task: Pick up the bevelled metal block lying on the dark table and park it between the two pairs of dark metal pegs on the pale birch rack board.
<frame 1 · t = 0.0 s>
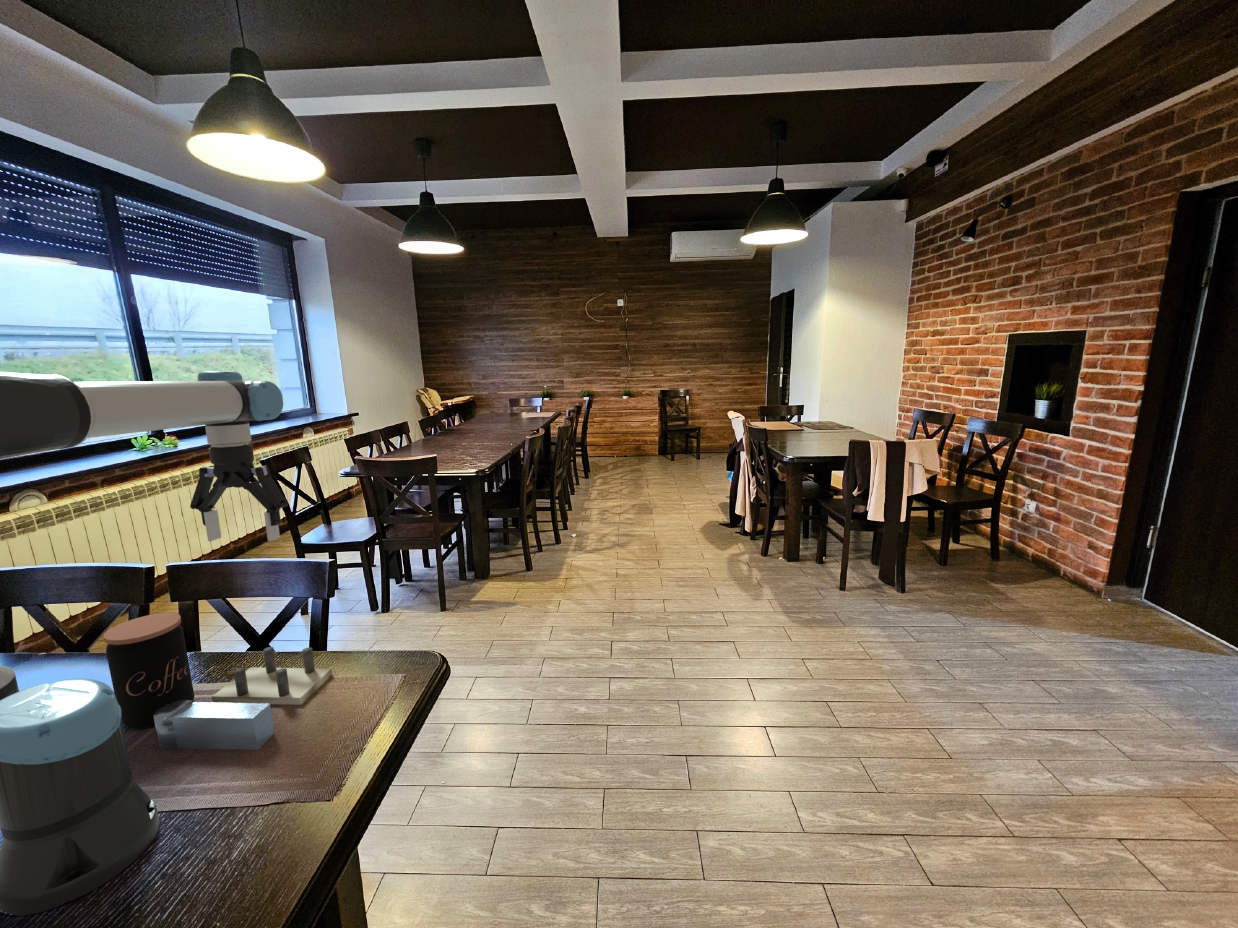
hand: (244, 539, 111), 28 cm above the table, fingers open, 13 cm apart
bevelled metal block: (225, 740, 89), on the table
peg rack: (275, 688, 104), on the table
coffee jar: (159, 713, 97), on the table
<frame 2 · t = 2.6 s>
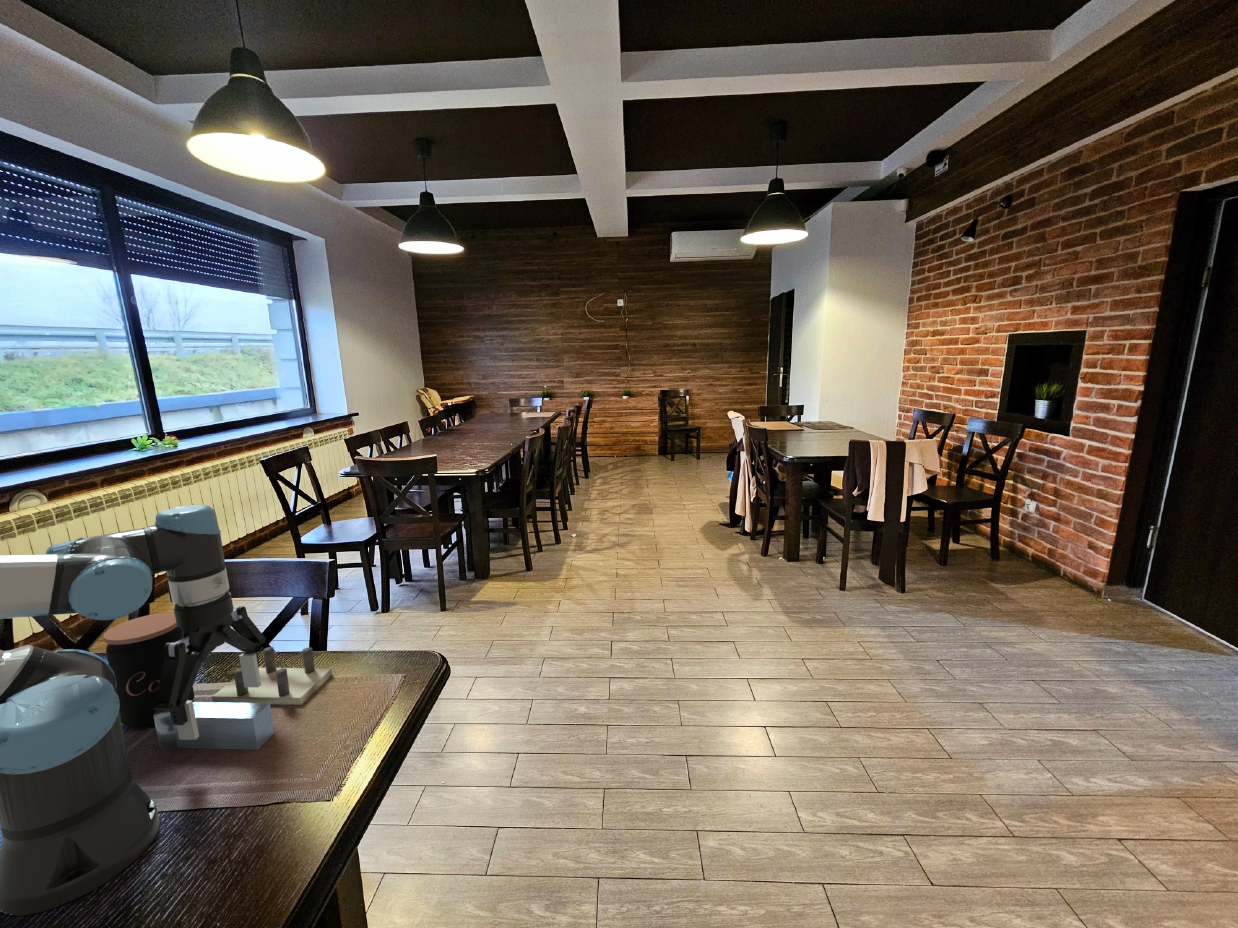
hand: (223, 710, 88), 6 cm above the table, fingers open, 13 cm apart
nothing on the table moved.
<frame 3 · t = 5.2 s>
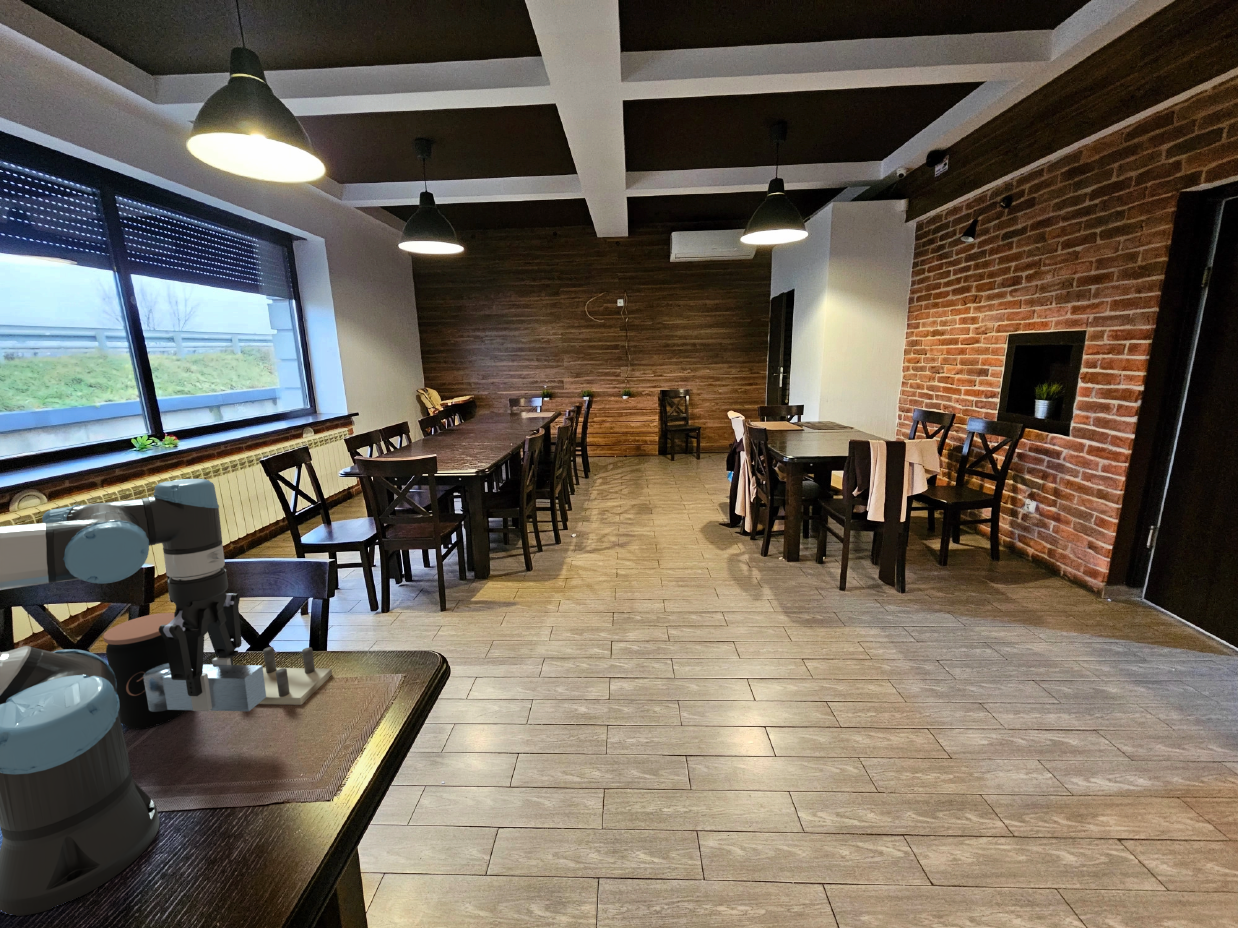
hand: (214, 700, 87), 8 cm above the table, fingers closed on bevelled metal block, 4 cm apart
bevelled metal block: (216, 702, 87), point 8 cm above the table, touching gripper
everything else where it was.
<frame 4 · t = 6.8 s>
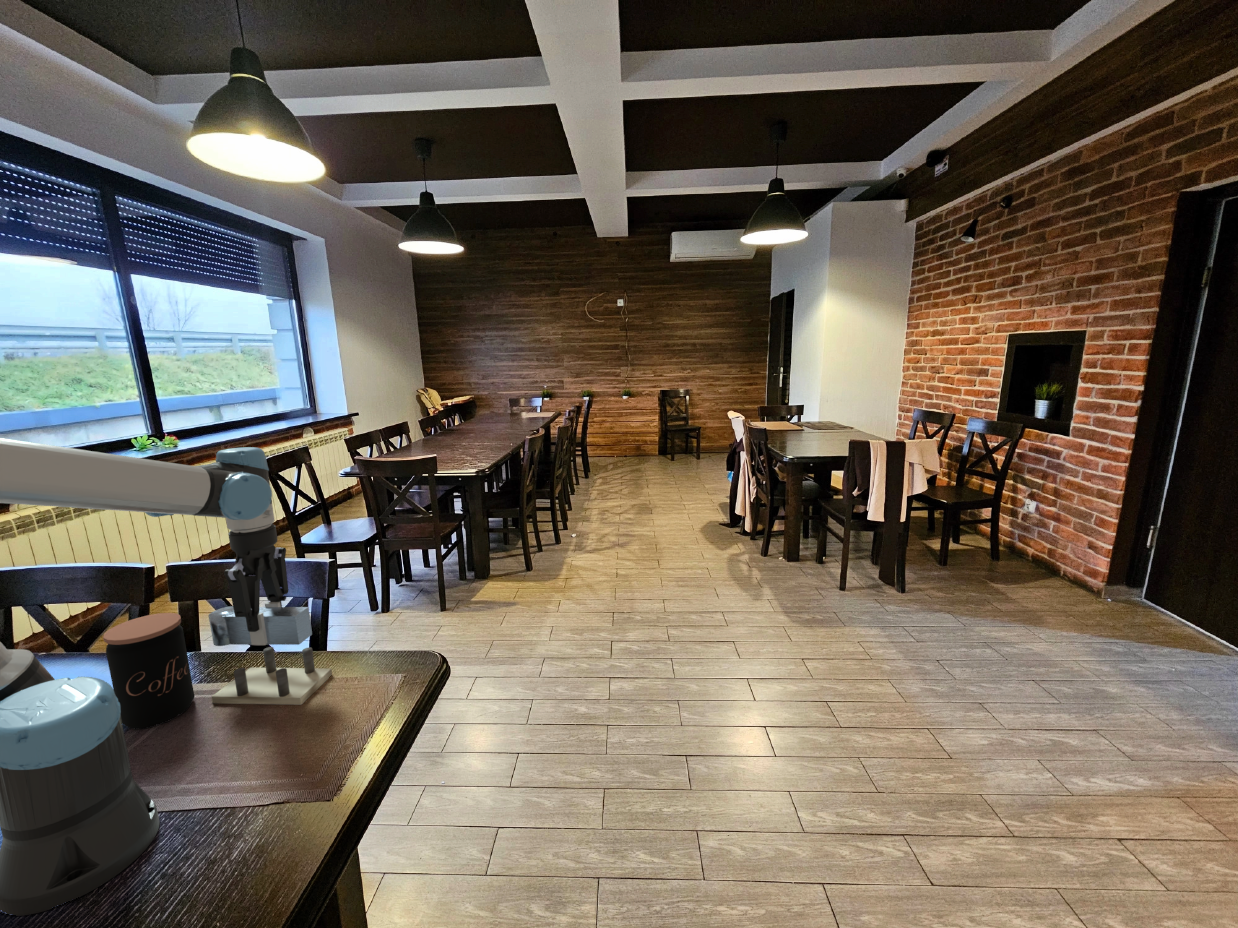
hand: (268, 637, 102), 11 cm above the table, fingers closed on bevelled metal block, 4 cm apart
bevelled metal block: (270, 639, 102), point 11 cm above the table, touching gripper
everything else where it was.
when the fingers open (2 cm above the table, at t = 8.6 s): bevelled metal block stays where it is, resting on peg rack.
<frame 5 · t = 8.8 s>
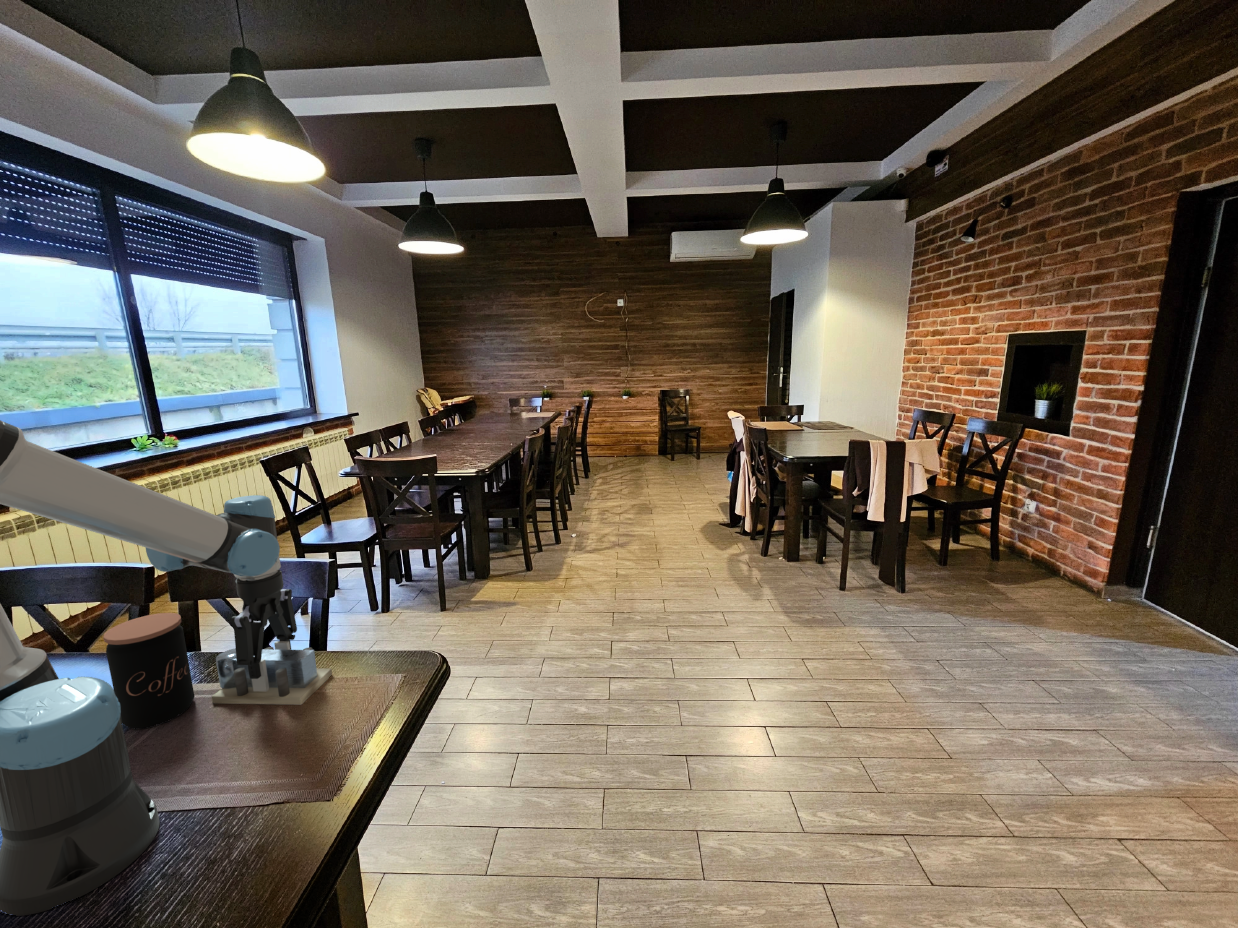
hand: (273, 679, 103), 2 cm above the table, fingers open, 6 cm apart
bevelled metal block: (275, 681, 103), point 1 cm above the table, touching peg rack
everything else where it was.
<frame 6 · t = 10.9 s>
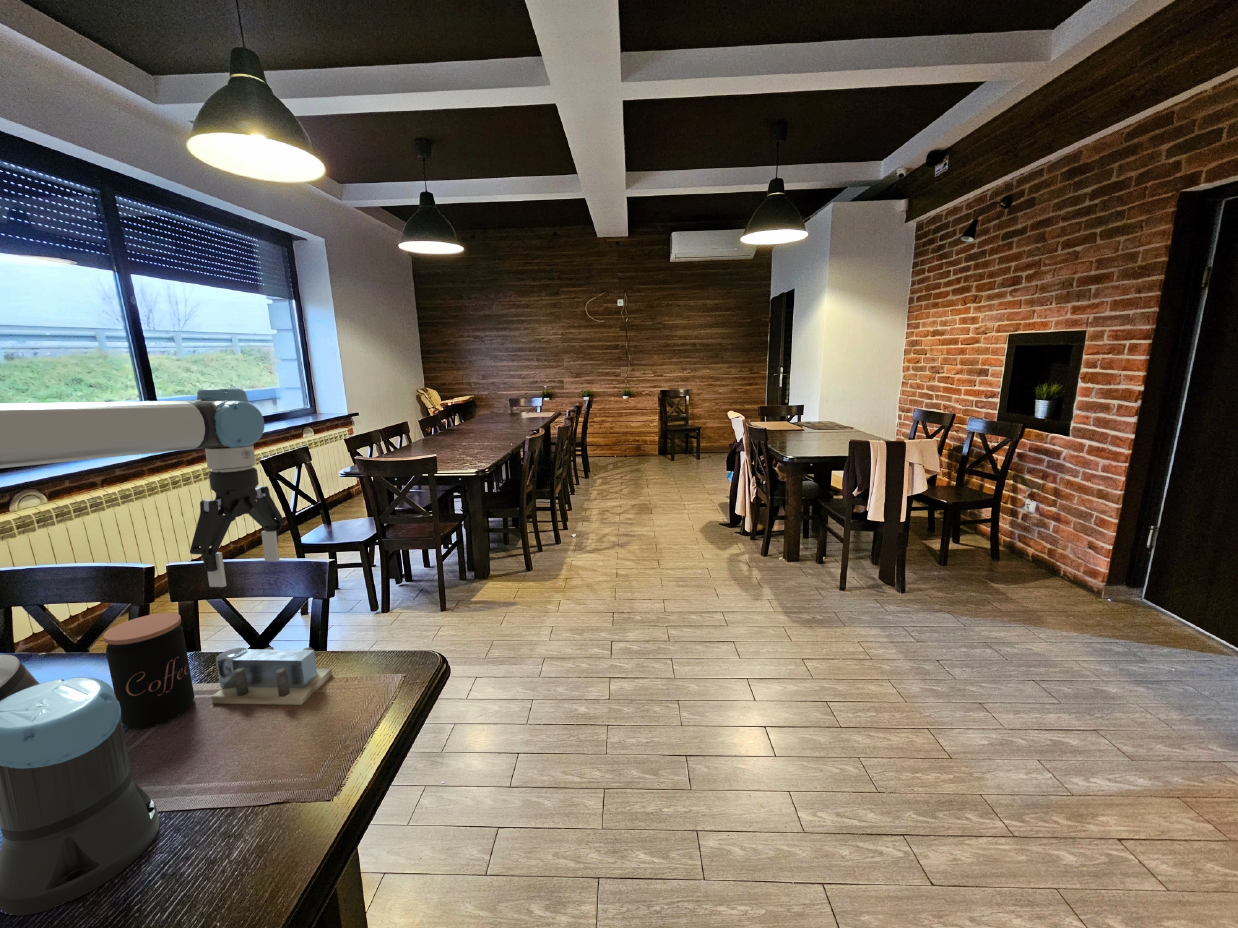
hand: (246, 572, 101), 25 cm above the table, fingers open, 13 cm apart
nothing on the table moved.
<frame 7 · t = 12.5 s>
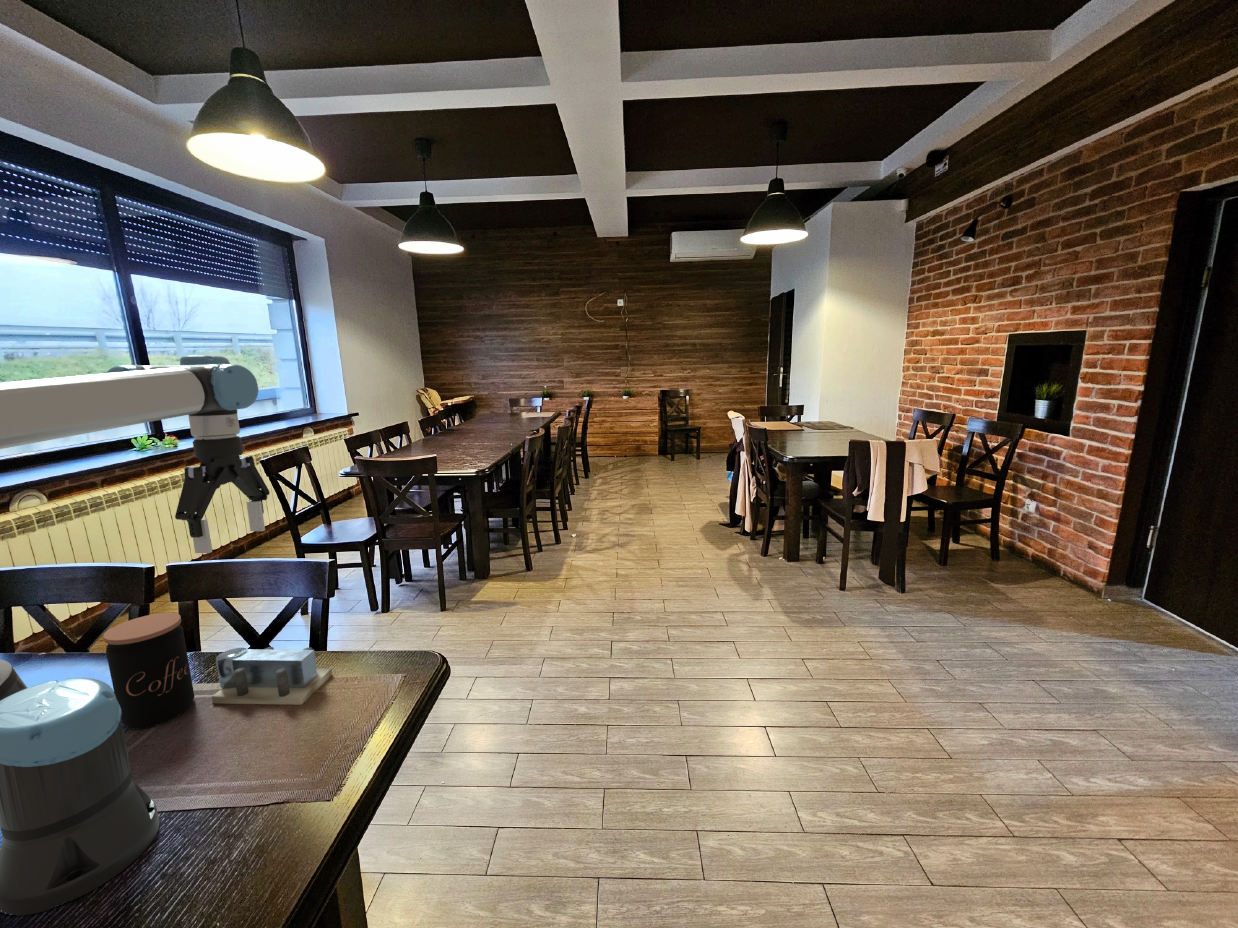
hand: (232, 541, 102), 31 cm above the table, fingers open, 13 cm apart
nothing on the table moved.
at the end: bevelled metal block 0.3 cm off-centre on the peg rack, point 1.5 cm above the peg rack's base; bevelled metal block touching peg rack; the gripper is holding nothing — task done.
